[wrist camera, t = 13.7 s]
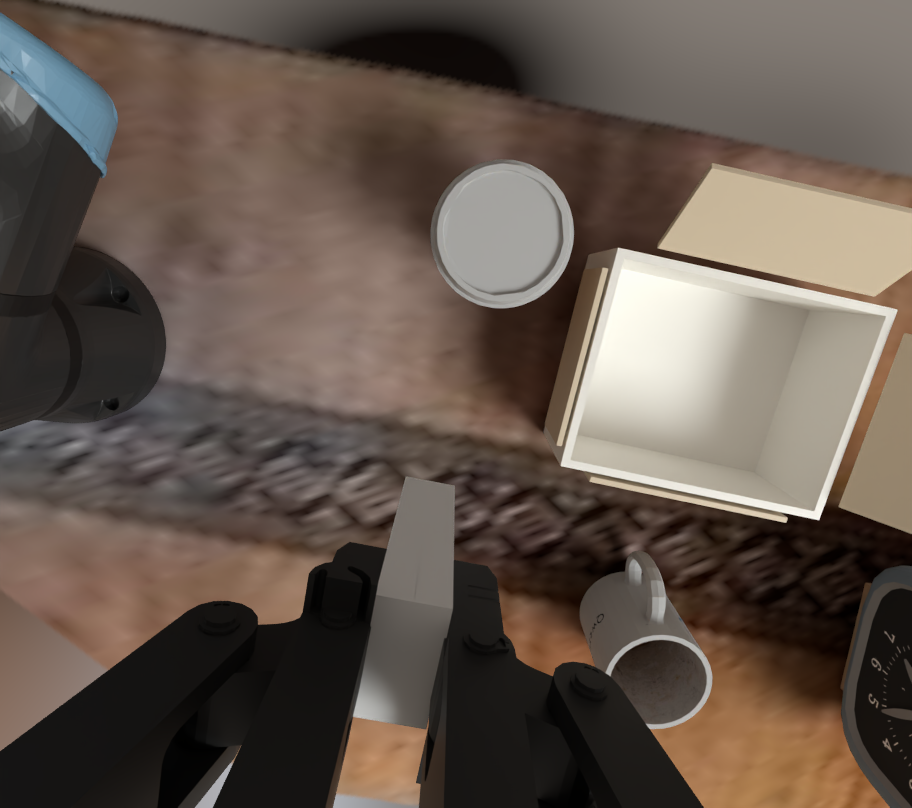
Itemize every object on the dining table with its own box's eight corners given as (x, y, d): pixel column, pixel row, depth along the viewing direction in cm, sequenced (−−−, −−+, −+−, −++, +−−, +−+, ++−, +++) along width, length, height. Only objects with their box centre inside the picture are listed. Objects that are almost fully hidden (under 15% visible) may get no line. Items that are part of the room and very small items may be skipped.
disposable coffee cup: (519, 165, 47) (537, 126, 35) (568, 270, 49) (601, 266, 37) (418, 221, 48) (402, 201, 36) (469, 322, 50) (471, 334, 38)
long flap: (711, 168, 32) (711, 162, 32) (657, 248, 38) (657, 243, 38) (971, 227, 32) (969, 221, 32) (874, 296, 39) (873, 291, 39)
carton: (533, 438, 52) (549, 473, 42) (580, 252, 48) (608, 245, 39) (752, 484, 52) (816, 529, 43) (814, 304, 49) (898, 309, 39)
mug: (653, 659, 56) (693, 738, 46) (569, 641, 56) (591, 717, 46) (691, 547, 54) (741, 606, 44) (603, 528, 53) (634, 582, 44)
